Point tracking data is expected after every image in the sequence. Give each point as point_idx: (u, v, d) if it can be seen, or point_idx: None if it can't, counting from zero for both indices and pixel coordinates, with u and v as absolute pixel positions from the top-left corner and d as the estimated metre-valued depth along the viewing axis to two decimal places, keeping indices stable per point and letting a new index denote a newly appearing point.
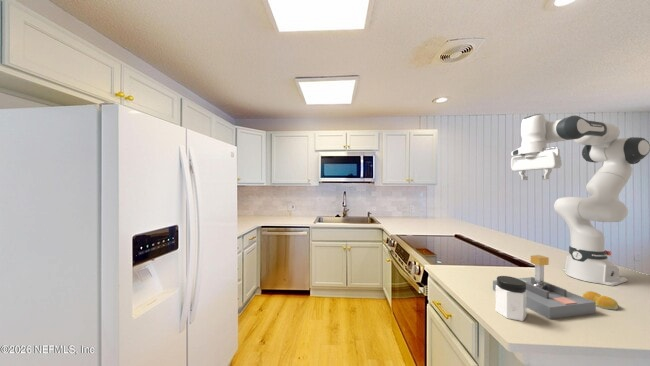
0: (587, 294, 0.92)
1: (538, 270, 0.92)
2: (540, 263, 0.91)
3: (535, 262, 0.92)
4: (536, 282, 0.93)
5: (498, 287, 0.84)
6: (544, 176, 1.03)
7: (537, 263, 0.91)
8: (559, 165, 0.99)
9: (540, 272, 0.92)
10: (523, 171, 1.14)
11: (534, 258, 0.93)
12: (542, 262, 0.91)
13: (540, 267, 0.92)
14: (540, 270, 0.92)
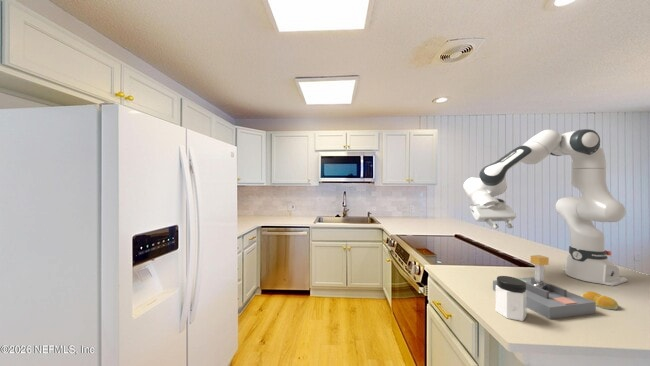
0: (587, 294, 0.92)
1: (538, 270, 0.92)
2: (540, 263, 0.91)
3: (535, 262, 0.92)
4: (536, 282, 0.93)
5: (498, 287, 0.84)
6: None
7: (537, 263, 0.91)
8: (478, 217, 1.10)
9: (540, 272, 0.92)
10: (506, 220, 1.11)
11: (534, 258, 0.93)
12: (542, 262, 0.91)
13: (540, 267, 0.92)
14: (540, 270, 0.92)
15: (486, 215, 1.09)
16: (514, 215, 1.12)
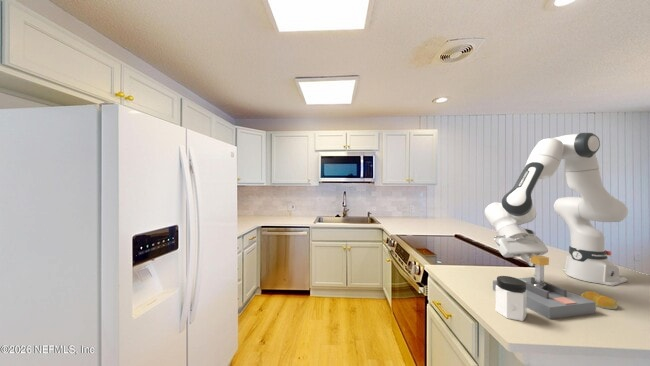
0: (587, 293, 0.92)
1: (538, 270, 0.92)
2: (540, 263, 0.91)
3: (536, 262, 0.92)
4: (536, 282, 0.93)
5: (498, 287, 0.84)
6: None
7: (537, 263, 0.91)
8: (505, 253, 0.96)
9: (540, 272, 0.92)
10: (530, 255, 0.97)
11: (534, 258, 0.92)
12: (542, 262, 0.91)
13: (540, 267, 0.92)
14: (540, 270, 0.92)
15: (514, 250, 0.96)
16: (546, 249, 0.98)
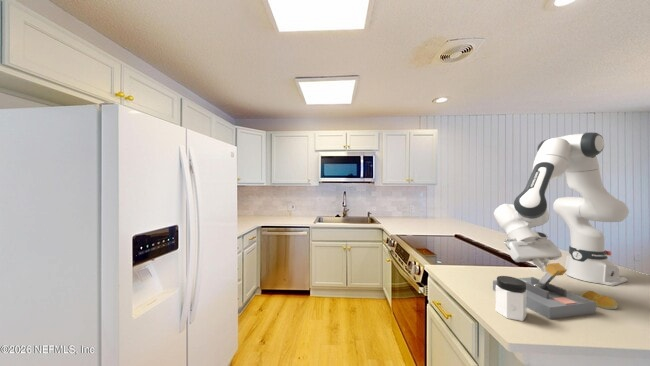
0: (587, 293, 0.92)
1: (548, 277, 0.89)
2: (555, 274, 0.86)
3: (551, 271, 0.87)
4: (539, 283, 0.92)
5: (498, 287, 0.84)
6: None
7: (551, 273, 0.87)
8: (516, 257, 0.91)
9: (549, 279, 0.89)
10: (542, 260, 0.93)
11: (551, 268, 0.87)
12: (557, 273, 0.86)
13: (552, 275, 0.88)
14: (550, 277, 0.88)
15: (526, 254, 0.91)
16: (559, 254, 0.93)
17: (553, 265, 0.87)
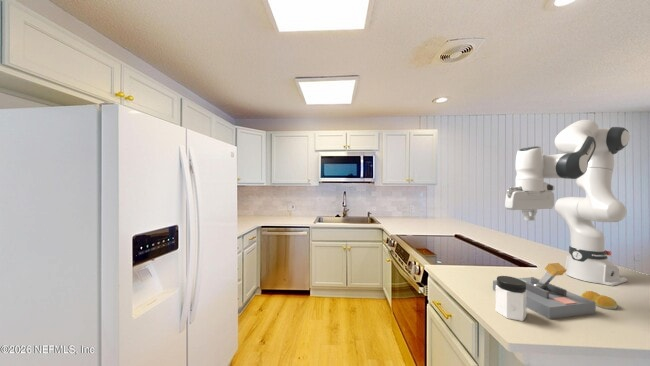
0: (587, 293, 0.92)
1: (548, 277, 0.89)
2: (555, 274, 0.86)
3: (550, 271, 0.87)
4: (539, 283, 0.92)
5: (498, 287, 0.84)
6: None
7: (551, 273, 0.87)
8: (509, 207, 0.94)
9: (549, 279, 0.89)
10: (531, 210, 0.97)
11: (551, 268, 0.87)
12: (557, 273, 0.86)
13: (552, 275, 0.88)
14: (550, 277, 0.88)
15: (520, 206, 0.93)
16: (551, 207, 0.96)
17: (553, 265, 0.87)
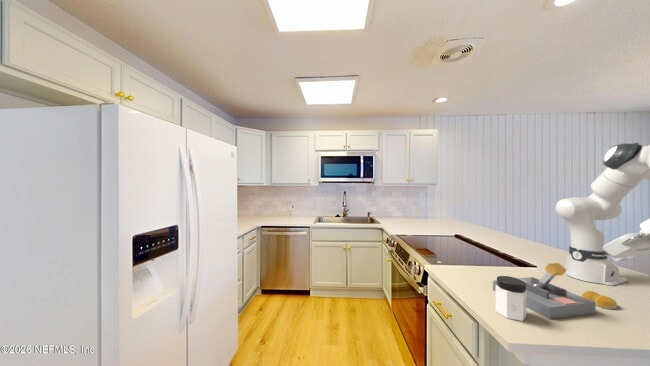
0: (586, 293, 0.92)
1: (548, 277, 0.89)
2: (555, 274, 0.86)
3: (550, 271, 0.87)
4: (539, 283, 0.92)
5: (498, 287, 0.84)
6: None
7: (551, 273, 0.87)
8: (610, 253, 0.65)
9: (549, 279, 0.89)
10: None
11: (551, 268, 0.87)
12: (557, 273, 0.86)
13: (552, 275, 0.88)
14: (550, 277, 0.88)
15: (626, 256, 0.65)
16: None
17: (553, 265, 0.87)
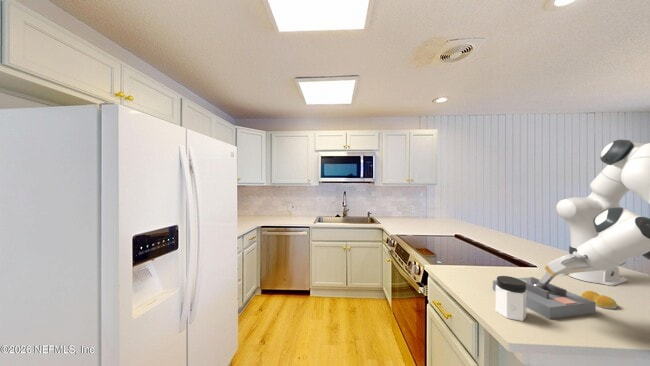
0: (586, 293, 0.92)
1: (548, 277, 0.89)
2: (555, 274, 0.86)
3: (550, 271, 0.87)
4: (539, 283, 0.92)
5: (498, 287, 0.84)
6: None
7: (551, 273, 0.87)
8: (552, 270, 0.79)
9: (549, 279, 0.89)
10: None
11: None
12: None
13: (552, 275, 0.88)
14: (550, 277, 0.88)
15: (564, 272, 0.78)
16: (598, 270, 0.81)
17: None
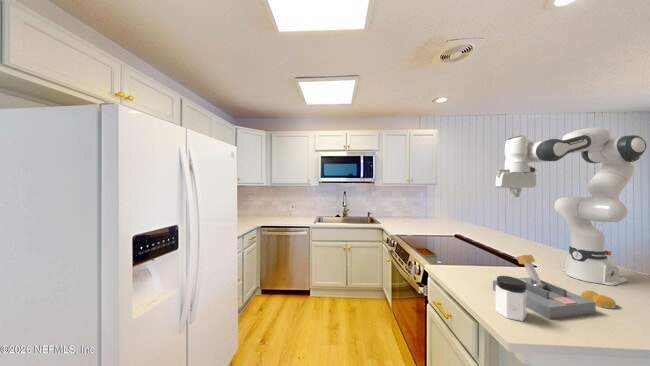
0: (585, 293, 0.93)
1: (529, 269, 0.96)
2: (526, 260, 0.96)
3: (522, 260, 0.97)
4: (534, 282, 0.94)
5: (498, 287, 0.84)
6: None
7: (524, 261, 0.96)
8: (499, 185, 1.14)
9: (531, 270, 0.95)
10: (517, 188, 1.17)
11: (520, 257, 0.98)
12: (527, 259, 0.96)
13: (529, 265, 0.96)
14: (530, 268, 0.95)
15: (508, 185, 1.14)
16: (534, 186, 1.16)
17: None
